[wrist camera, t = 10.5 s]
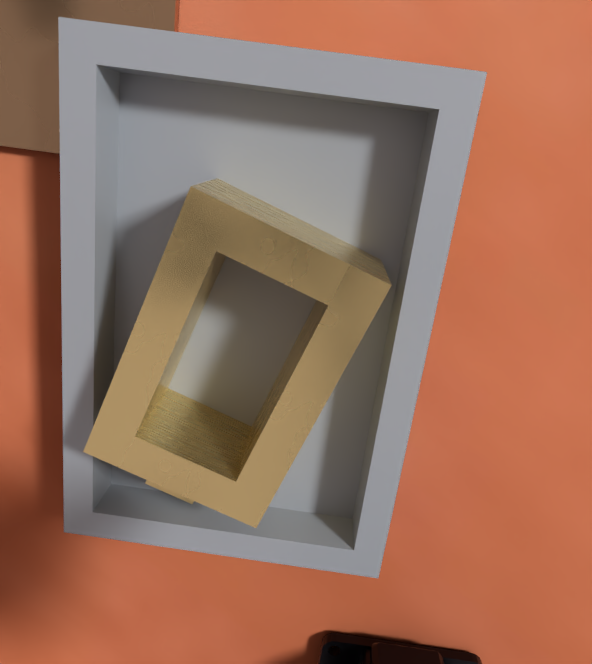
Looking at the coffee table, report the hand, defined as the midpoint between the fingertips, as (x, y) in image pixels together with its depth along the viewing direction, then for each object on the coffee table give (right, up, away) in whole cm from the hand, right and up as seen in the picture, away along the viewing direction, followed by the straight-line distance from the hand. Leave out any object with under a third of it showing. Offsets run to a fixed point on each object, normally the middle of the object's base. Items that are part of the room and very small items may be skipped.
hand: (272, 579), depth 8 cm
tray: (-1, +4, +11) cm, 12 cm away
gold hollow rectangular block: (-1, +3, +11) cm, 12 cm away
